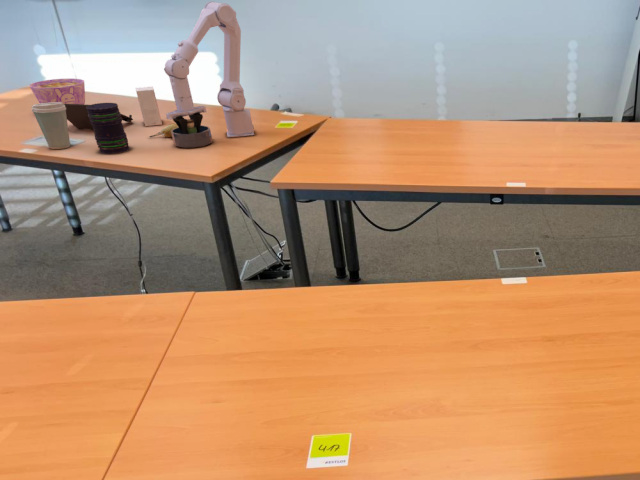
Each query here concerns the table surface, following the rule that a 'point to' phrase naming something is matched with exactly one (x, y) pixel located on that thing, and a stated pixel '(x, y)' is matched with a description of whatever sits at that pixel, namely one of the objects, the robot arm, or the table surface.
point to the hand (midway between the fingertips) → (192, 136)
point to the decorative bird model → (166, 130)
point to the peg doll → (191, 126)
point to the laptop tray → (83, 116)
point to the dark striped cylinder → (108, 128)
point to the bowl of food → (59, 91)
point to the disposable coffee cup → (53, 123)
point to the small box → (148, 106)
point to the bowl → (192, 138)
